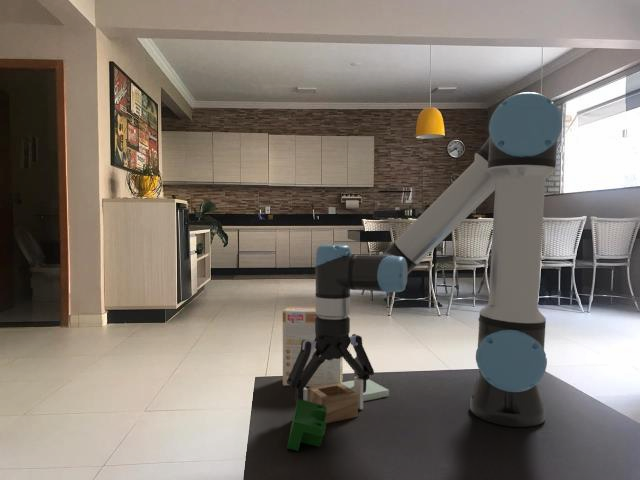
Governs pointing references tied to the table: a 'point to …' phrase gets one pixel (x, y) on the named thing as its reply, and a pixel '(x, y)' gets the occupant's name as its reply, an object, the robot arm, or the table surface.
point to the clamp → (307, 424)
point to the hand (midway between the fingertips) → (331, 412)
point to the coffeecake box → (294, 331)
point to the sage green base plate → (368, 387)
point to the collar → (335, 401)
